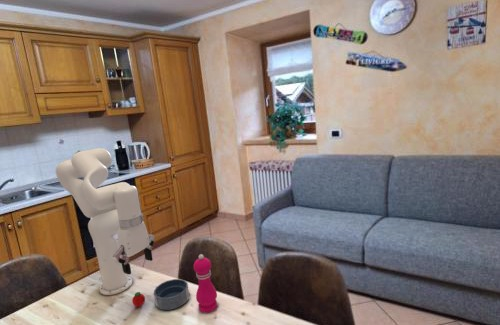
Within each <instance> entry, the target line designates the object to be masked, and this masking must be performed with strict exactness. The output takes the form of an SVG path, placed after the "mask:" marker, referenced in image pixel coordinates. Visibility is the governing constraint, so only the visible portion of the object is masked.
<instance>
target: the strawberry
mask: <svg viewBox="0 0 500 325" xmlns="http://www.w3.org/2000/svg"><path fill="white" fill-rule="evenodd" d="M131 302H132V304H133V306H134V307H141V306H143V305H144V304H145V302H146V297H145V295H144V294H143V293H141V292H140V291H138V292H135V293H134V295H133V297H132V300H131Z"/></svg>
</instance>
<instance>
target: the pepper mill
mask: <svg viewBox="0 0 500 325" xmlns="http://www.w3.org/2000/svg"><path fill="white" fill-rule="evenodd" d="M211 268H212V262H211V260H210V259H209V258H208V257H205V256H204V254H202V253H200V254H199V255H198V258H197V259H195V261H194V263H193V271H194V272H195V275H196V278H197V281H198V286H197V290H196V293H195V299H196V302H197V303H198V309H199V311H200V312H202V313H205V314H206V313H212V312H213V311H215V310H216V309H217V308H218V303H217V298H218V293H217V290H216V287H215V286H214V284H213V282H212V281H211V280H212V279H211V276H212V271H211Z"/></svg>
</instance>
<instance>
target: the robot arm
mask: <svg viewBox="0 0 500 325" xmlns="http://www.w3.org/2000/svg"><path fill="white" fill-rule="evenodd" d="M112 161H113V159H112V155H111V153H110V152H109V151H108V150H107V149H106V148H103V147H97V148H91V149H87V150H81V151H78V152H76V153H74V154H73V155H72V157H71V158H70V159H67V160H63V161H61V162H59V163H58V164H57V165H56V167H55V174H56V178H57V180H58V182H59V184H60V185H61V186H62V187H63V189H64V190H65V191H66V192H68V193H69V194H70V195H71V197H72V198H73V199H74V201H75V203H76V205H77V206H78V207H79V209H80V211H81V213H82V214H83V215H84V216H85V217H86V218H88V219H90V220H89V221H88V223H87V229H88V232H89V234H90V237H91V240H92V242H93V245H94V250H95V254H96V259H97V263H98V267H99V272H100V276H99V277H98V280H99V281H101V285H100V286H99V290H98V291H99V293H100V294H101V295H103V296H114V295H116V294H120V293H123V292H124V291H126V290H128V289H129V288H130V287H131V286H132V284H133V278H132V277H131V276H129V275H131V274H132V269H131V264H130V263H129V261H130V258H131V257H133V256H135V255H137V254H138V253H140V252H141V251H143V253H144V254H143V255H144V259H145V261H148V262H149V261H150V262H152V261H153V260H154V259H153V253H152V251H153V246H154V243H155V242H154V241H155V238H156V237H155V234H151V233H150V234H149V232H148V229H147V226H146V224H145V221H144V220H143V217H144V213H143V212H142V210H141V204H140V198H139V192H138V189H137V188H138V187H136V186H135V185H130V183H128V182H125V181H121V182H116V183H113V184H108V185H103V186H101V185H102V184H103V183H105V182H106V180H107V179H108V177H109V170H108V168H110V166H111V165H112ZM81 178H82V179H83V180H82V179H81ZM99 186H101V187H99ZM115 235H117V238H115V237H114V236H115Z"/></svg>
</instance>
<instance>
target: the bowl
mask: <svg viewBox="0 0 500 325" xmlns="http://www.w3.org/2000/svg"><path fill="white" fill-rule="evenodd" d="M153 297H154V303H155V304H154V305H155V306H156V307H157V308H158V309H160V310H163V311H167V310H168V311H170V310H175V309H177V308H179V307H181V306H183V305H184V304H186V303H187V302H188V301H189V298H190V290H189V283H188V282H187V281H186V280H185V279H181V278H175V279H174V278H173V279H169V280H166V281H163V282H162V283H160V284H158V285H157V286H156V287H155V288H154V290H153Z"/></svg>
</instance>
